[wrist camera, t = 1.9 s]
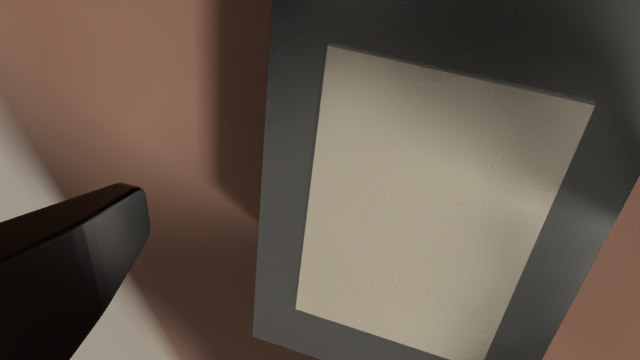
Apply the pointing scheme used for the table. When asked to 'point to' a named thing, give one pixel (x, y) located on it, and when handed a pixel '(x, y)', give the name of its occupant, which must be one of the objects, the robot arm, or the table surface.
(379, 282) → the drive
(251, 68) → the table surface
